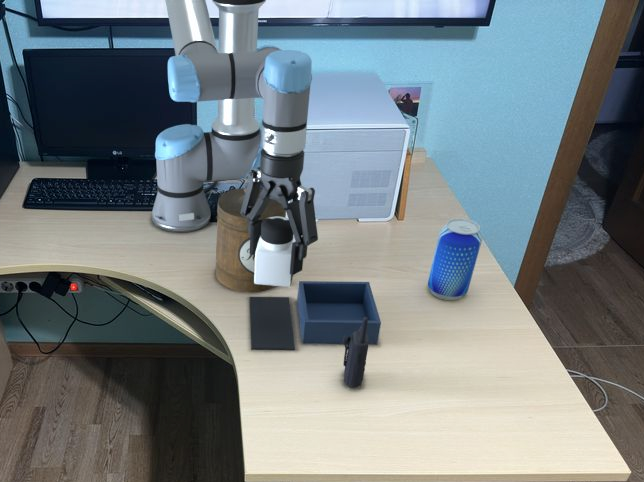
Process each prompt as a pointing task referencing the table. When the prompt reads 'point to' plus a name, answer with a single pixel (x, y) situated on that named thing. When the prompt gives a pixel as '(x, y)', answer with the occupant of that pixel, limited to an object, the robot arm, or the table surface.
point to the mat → (271, 324)
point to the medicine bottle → (274, 253)
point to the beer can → (454, 259)
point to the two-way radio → (356, 355)
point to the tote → (336, 311)
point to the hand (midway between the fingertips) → (275, 261)
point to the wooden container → (238, 242)
